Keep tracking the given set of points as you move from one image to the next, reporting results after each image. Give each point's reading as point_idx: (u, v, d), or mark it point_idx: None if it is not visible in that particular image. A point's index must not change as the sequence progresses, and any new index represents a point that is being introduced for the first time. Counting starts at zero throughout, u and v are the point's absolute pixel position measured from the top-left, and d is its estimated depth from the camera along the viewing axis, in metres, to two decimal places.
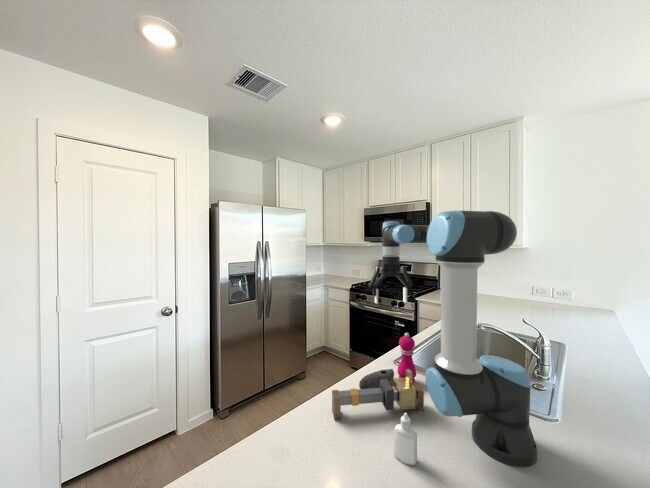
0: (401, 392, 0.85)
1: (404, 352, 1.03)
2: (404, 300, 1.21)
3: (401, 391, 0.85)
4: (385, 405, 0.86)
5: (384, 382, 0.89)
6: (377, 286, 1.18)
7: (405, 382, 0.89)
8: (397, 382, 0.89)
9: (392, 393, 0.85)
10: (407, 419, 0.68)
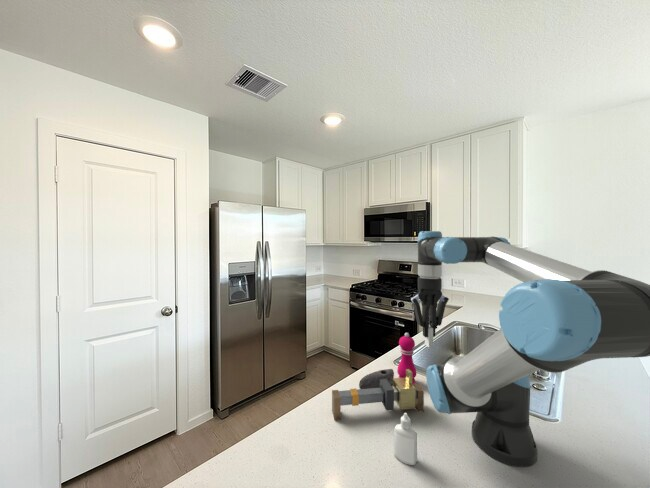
0: (401, 392, 0.85)
1: (404, 352, 1.03)
2: None
3: (401, 391, 0.85)
4: (385, 405, 0.86)
5: (384, 382, 0.89)
6: (428, 323, 0.88)
7: (405, 382, 0.89)
8: (397, 382, 0.89)
9: (392, 393, 0.85)
10: (407, 419, 0.68)
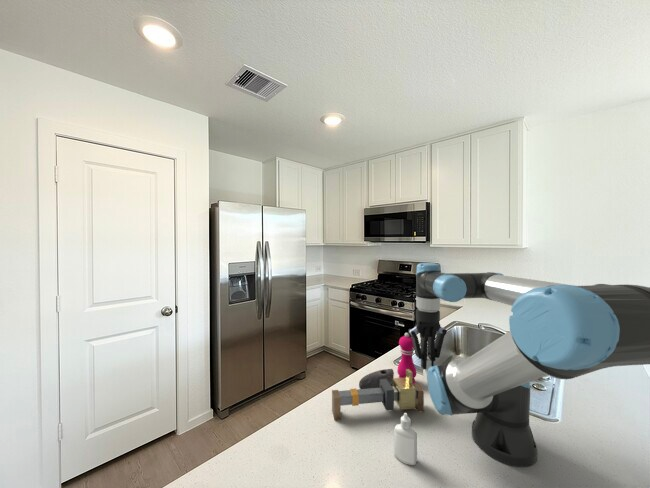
0: (401, 392, 0.85)
1: (404, 352, 1.03)
2: (426, 375, 0.90)
3: (401, 391, 0.85)
4: (385, 405, 0.86)
5: (384, 382, 0.89)
6: (426, 355, 0.88)
7: (405, 382, 0.89)
8: (397, 382, 0.89)
9: (392, 393, 0.85)
10: (407, 419, 0.68)
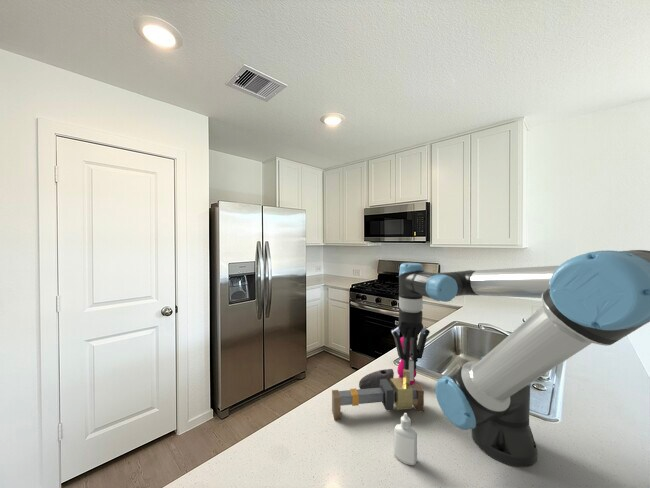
0: (399, 393, 0.85)
1: None
2: None
3: (398, 391, 0.85)
4: (385, 405, 0.86)
5: (384, 382, 0.89)
6: (409, 356, 0.88)
7: (402, 382, 0.89)
8: (394, 382, 0.89)
9: (392, 393, 0.85)
10: (407, 419, 0.68)
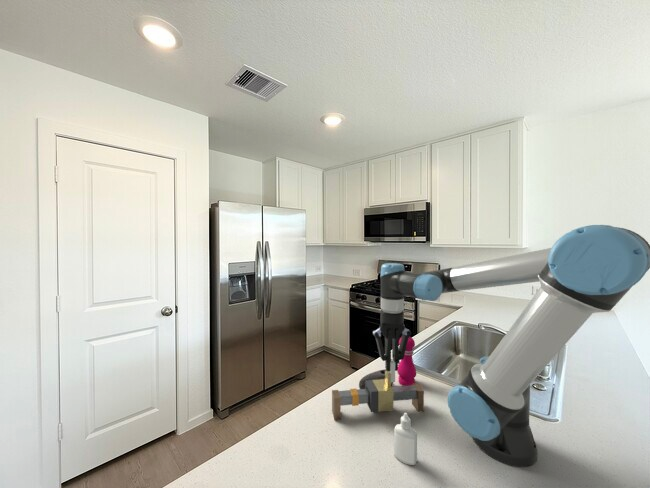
0: (379, 394, 0.84)
1: None
2: None
3: (379, 393, 0.84)
4: (370, 406, 0.85)
5: (369, 383, 0.88)
6: (390, 357, 0.87)
7: (384, 384, 0.88)
8: (376, 384, 0.88)
9: (377, 394, 0.84)
10: (407, 419, 0.68)
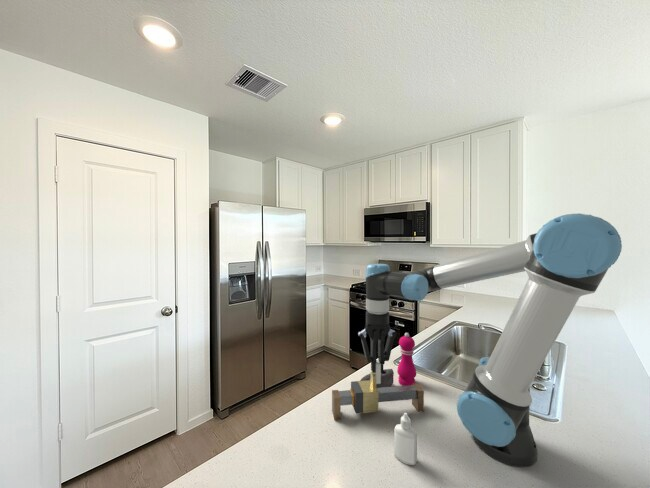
0: (364, 396, 0.84)
1: (404, 352, 1.03)
2: None
3: (363, 394, 0.84)
4: (355, 408, 0.84)
5: (355, 384, 0.88)
6: (375, 358, 0.86)
7: (369, 385, 0.87)
8: (361, 385, 0.87)
9: (361, 396, 0.83)
10: (407, 419, 0.68)
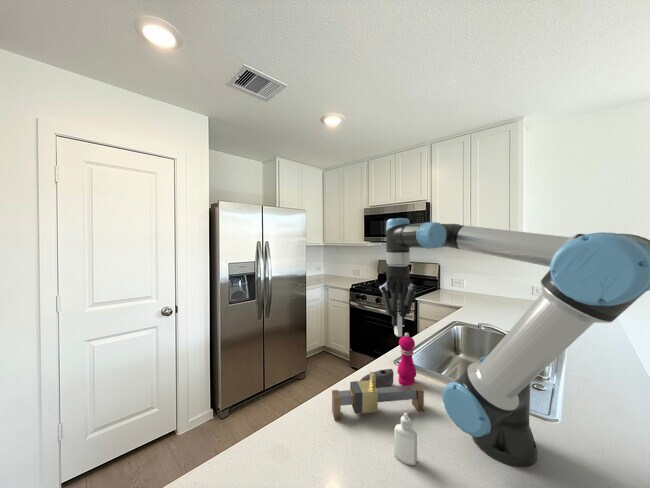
0: (363, 396, 0.84)
1: (404, 352, 1.03)
2: None
3: (363, 394, 0.84)
4: (354, 408, 0.84)
5: (354, 384, 0.88)
6: (397, 311, 0.87)
7: (369, 385, 0.87)
8: (360, 385, 0.87)
9: (361, 396, 0.83)
10: (407, 419, 0.68)
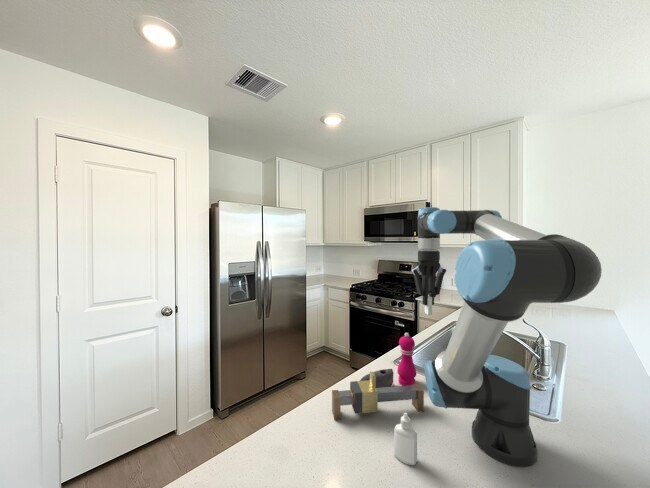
0: (363, 396, 0.84)
1: (404, 352, 1.03)
2: None
3: (363, 394, 0.84)
4: (354, 408, 0.84)
5: (354, 384, 0.88)
6: (427, 292, 0.96)
7: (369, 385, 0.87)
8: (360, 385, 0.87)
9: (361, 396, 0.83)
10: (407, 419, 0.68)
